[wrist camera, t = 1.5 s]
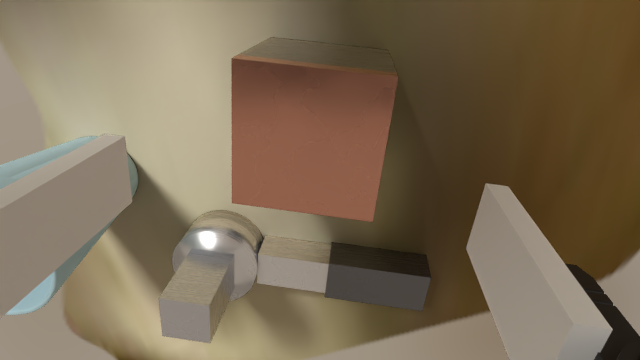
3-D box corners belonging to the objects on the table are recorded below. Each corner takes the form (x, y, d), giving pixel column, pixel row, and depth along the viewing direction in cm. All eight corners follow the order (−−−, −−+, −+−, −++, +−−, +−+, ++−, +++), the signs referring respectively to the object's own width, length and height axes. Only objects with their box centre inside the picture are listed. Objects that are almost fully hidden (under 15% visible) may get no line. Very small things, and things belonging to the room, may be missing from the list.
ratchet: (430, 238, 29) (451, 320, 22) (414, 301, 32) (428, 393, 24) (186, 205, 30) (130, 274, 23) (190, 269, 32) (141, 349, 25)
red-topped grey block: (267, 146, 27) (232, 202, 20) (271, 37, 24) (231, 58, 17) (370, 158, 27) (372, 221, 20) (388, 50, 24) (398, 77, 17)
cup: (29, 133, 29) (-132, 205, 19) (123, 108, 27) (-4, 172, 18) (83, 223, 32) (-35, 323, 22) (169, 205, 30) (83, 303, 21)
